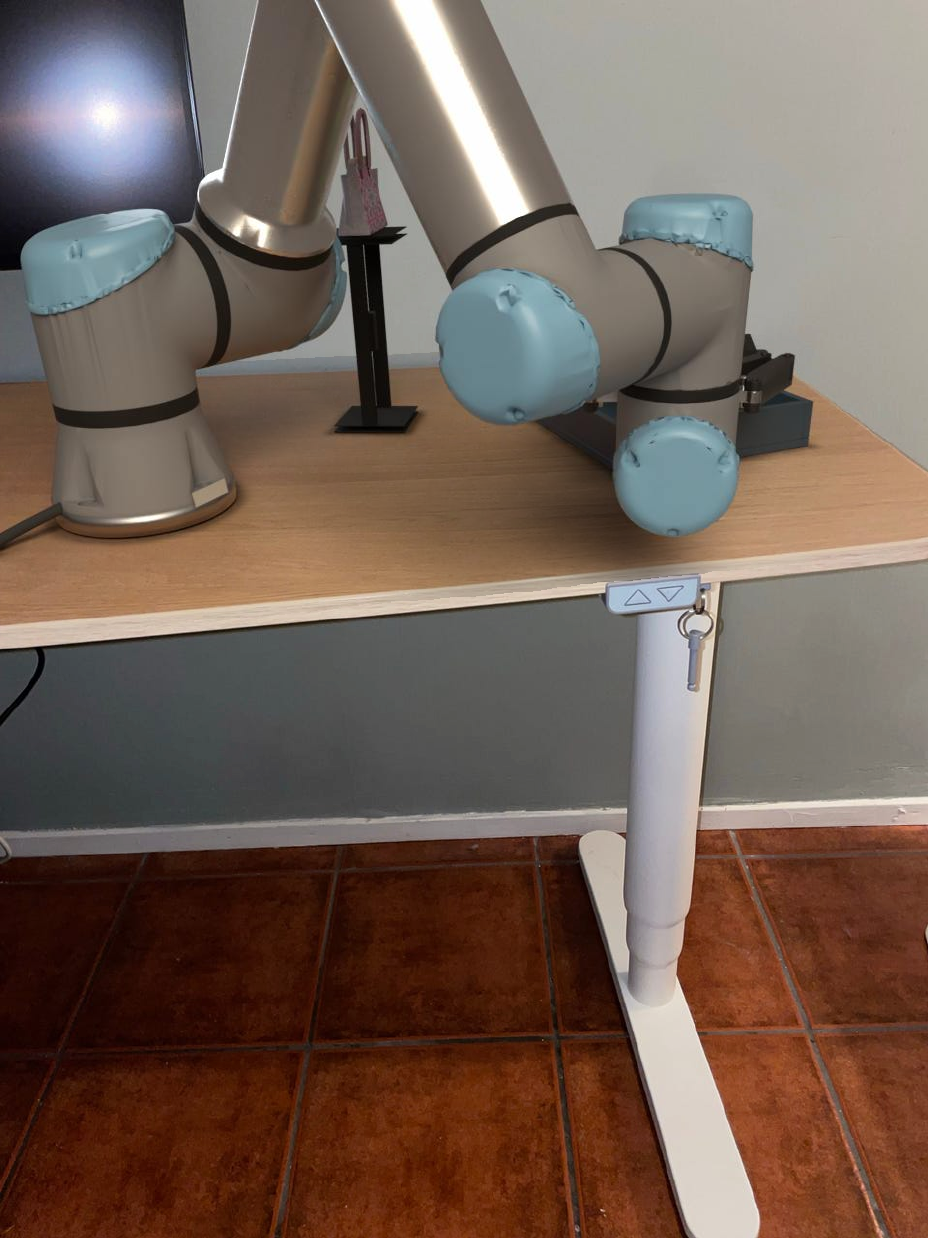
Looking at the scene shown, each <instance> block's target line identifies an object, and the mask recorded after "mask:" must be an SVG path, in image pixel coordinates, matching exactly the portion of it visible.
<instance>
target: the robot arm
mask: <svg viewBox="0 0 928 1238" xmlns="http://www.w3.org/2000/svg"><path fill="white" fill-rule="evenodd" d="M236 97H237V98H236V101H235V106H234V111H233V115H232V121H231V126H230V130H229V135H228V139H227V140H228V141H227V146H226V149H225V155H224V160H223V164H222V168H220V169H217V170H214V171H213V172H210V173H209V174H207V175H205V176H204V177H203V179H202V180H201V181H200V182H199V185H198V189H197V194H196V198H195V203H194V209H193V213H192V218H191V220H190V221H188V222H182V223H175V224H173V223H172V221H171V219H170V217H169V215H168V214H167V213H166V212H165V211H163V210H160V209H156V208H155V209H154V208H137V209H125V210H119V211H114V212H110V213H108V214H107V213H100V214H94V215H90V216H85V217H81V218H77V219H73V220H69V221H66V222H63V223H60V224H57V225H53V226H51V227H48V228H45V229H43V230H41V231H39V232H37V233H36V234H34V235H33V236H32V237H31V238H29V239H28V240H27V241H26V242H25V243H24V245H23V247H22V250H21V251H20V252H21V253H20V265H21V272H22V279H23V287H24V294H25V295H24V296H25V297H24V302H25V307H26V308H27V309H28V312H29V314H30V318H31V322H32V325H33V330H34V335H35V339H36V343H37V347H38V352H39V356H40V360H41V364H42V368H43V372H44V376H45V380H46V384H47V388H48V393H49V396H50V401H51V405H52V408H53V409H52V410H53V414H54V417H55V422H56V427H57V428H56V429H57V436H56V446H55V456H54V466H53V475H52V484H51V491H50V493H51V495H50V502H51V506H49V507H47V508H45V509H43V510H41V511H38V512H37V513H35V514H33V515H31V516H29V517H27V518H26V519H24V520H22V521H20V522H17V523H16V524H14V525H12V526H11V527H8V528H6V529H5V530H3V531H1V532H0V548H1V547H3V546H5V545H7V544H8V543H10V542H12V541H13V540H15V539H18V538H19V537H21V536H23V535H25V534H26V533H28V532H30V531H32V530H34V529H36V528H38V527H40V526H42V525H43V524H45V523H48V522H49V521H52V520H54V519H55V521H56V523H57V525H58V526H59V527H60V528H62V529H64V530H65V531H68V532H70V533H73V534H75V535H79V536H80V535H82V536H86V537H93V538H107V539H108V538H111V539H116V538H117V539H120V538H136V537H145V536H152V535H158V534H159V535H160V534H164V533H168V532H173V531H177V530H181V529H184V528H187V527H191V526H194V525H197V524H200V523H203V522H205V521H207V520H210V519H212V518H214V517H216V516H217V515H219V514H221V513H223V512H224V511H226V510H227V509H228V508H229V507H230V506H232V504H233V503H234V502H235V500H236V498H237V487H236V481H235V475H234V472H233V469H232V467H231V466H230V463H229V461H228V460H227V458H226V456H225V453H224V452H223V449H222V447H221V446H220V444H219V442H218V440H217V439H216V436H215V434H214V432H213V430H212V429H211V427H210V424H209V422H208V421H207V418H206V416H205V414H204V412H203V409H202V405H201V400H200V393H199V386H198V381H197V380H198V379H197V374H196V371H198V370H202V369H207V368H210V367H214V366H219V365H224V364H228V363H233V362H237V361H241V360H246V359H250V358H254V357H255V358H256V357H259V356H264V355H268V354H273V353H280V352H284V351H289V350H293V349H295V348H297V347H299V346H300V345H303V344H305V343H308V342H310V341H313V340H316V339H317V338H319V337H320V336H322V335H323V334H325V333H326V332H327V331H328V330H329V329H330V328H331V327H332V326H333V324H334V323H335V321H336V320H337V318H338V316H339V314H340V312H341V311H342V307H343V305H344V302H345V297H346V293H347V285H348V273H347V271H345V270H343V268H342V265H343V263H344V262H346V257H345V252H344V249H343V245H341V243H340V240H339V239H338V237H337V235H336V232H337V230H336V228H337V224H336V221H335V218H334V217H333V215H332V213H331V212H330V210H329V208H328V207H327V203H328V200H329V195H330V192H331V189H332V186H333V183H334V179H335V176H336V172H337V169H338V165H339V162H340V159H341V155H342V152H343V150H344V147H343V146H344V142H345V139H346V136H347V132H348V133H349V129H350V122H351V119H352V116H353V115H354V112H355V108H356V105H357V101H358V99H359V97H360V99H361V101H362V103H363V105H364V107H365V109H366V111H367V114H368V115H369V117H370V120H371V122H372V124H373V126H374V128H375V131H376V132H377V134H378V136H379V137H378V138H379V139H380V140H381V143H382V145H383V147H384V149H385V151H386V154H387V155H388V158H389V160H390V162H391V164H392V166H393V168H394V170H395V173H396V174H397V176H398V178H399V180H400V183H401V185H402V187H403V189H404V191H405V193H406V195H407V198H408V200H409V202H410V204H411V206H412V208H413V210H414V212H415V213H416V217H417V219H418V221H419V223H420V225H421V227H422V229H423V231H424V233H425V236H426V238H427V239H428V242H429V244H430V246H431V248H432V250H433V252H434V255H435V257H436V259H437V261H438V262H439V264H440V266H441V267H440V268H441V269H442V271H443V273H444V275H445V278H446V280H447V282H448V284H449V286H450V289H451V292H450V294H449V295H448V296H447V297H446V299H445V301H444V302H443V304H442V306H441V308H440V310H439V314H438V317H437V322H436V326H435V335H434V336H435V337H434V338H435V339H434V340H435V342H436V343H437V344H438V351H439V352H438V353H439V360H438V368H439V371H440V374H441V376H442V379H443V381H444V383H445V384H446V388H447V389H448V391H449V392H450V394H451V395H452V397H453V398H454V399H455V400H456V402H457V403H459V405H460V406H461V407H462V408H463V409H464V410H465V411H467V412H468V413H469V414H470V415H471V416H473V417H474V418H477V419H478V420H480V421H482V422H484V423H487V424H490V425H494V426H498V427H499V426H501V427H511V426H512V427H513V426H519V425H523V424H526V423H527V424H528V423H531V422H534V421H535V420H538V419H542V418H545V417H552V416H555V415H558V414H568V413H570V412H572V411H574V410H576V409H578V408H579V407H581V406H582V410H583V411H584V412H587V413H593V412H596V411H597V410H598V407H603V402H616V404H617V426H616V453H615V454H614V457H613V470H612V471H611V474H612V484H613V486H614V490H615V491H614V492H615V495H616V498H617V501H618V503H619V505H620V507H621V509H622V511H623V512H624V514H625V515H626V516H627V517H628V518H629V520H631V521H632V522H633V523H634V524H635V525H637V526H638V527H639V528H641V529H642V530H645V531H647V532H649V533H652V534H655V535H658V536H665V537H671V538H675V537H685V536H690V535H693V534H696V533H700V532H701V531H705V530H706V529H708V528H709V527H711V526H713V525H714V524H715V523H717V522H718V521H719V520H720V519H721V518H722V517H723V516H724V515H725V513H727V511H728V510H729V508H730V507H731V506H732V503H733V501H734V499H735V496H736V493H737V490H738V484H739V470H740V465H741V463H740V462H741V460H740V457H739V455H738V454H737V453H736V432H737V421H738V410H739V408H744V412H747V413H750V414H753V413H758V412H759V411H760V405H761V404H763V403H765V402H766V401H768V400H769V399H771V398H772V397H774V396H775V395H777V394H779V393H780V392H782V391H783V390H785V391H786V390H787V389H788V388H790V387H791V386H792V385H793V379H794V378H793V377H794V369H795V361H796V355H795V354H794V353H791V352H784V353H781V354H779V355H778V356H775V357H774V358H773V357H772V356H773V355H772V353H771V352H769V351H768V350H767V349H763V348H761V349H760V348H759V349H758V348H757V347H756V345H755V342H754V339H753V336H752V334H751V333H746V328H747V320H748V319H747V316H748V309H749V299H750V290H751V289H750V288H751V281H752V280H751V278H752V272H754V269H755V263H754V261H753V225H754V224H753V223H754V213H753V210H752V208H751V206H750V204H749V203H748V202H747V200H746V199H745V200H744V199H743V198H742V197H740V196H736V195H732V194H725V193H724V194H723V193H722V194H721V193H670V194H669V193H668V194H656V195H646V196H641V197H638V198H636V199H634V200H633V201H632V202H631V203H629V205H628V206H627V207H626V209H625V210H624V212H623V221H622V229H621V234H620V236H619V237H618V244H617V245H613V246H607V247H604V248H599V249H596V246H595V244H594V242H593V240H592V238H591V236H590V233H589V232H588V229H587V227H586V225H585V223H584V220H583V219H582V218H581V215H580V213H579V212H578V209H577V207H576V205H575V203H574V200H573V198H572V197H571V194H570V192H569V190H568V187H567V185H566V183H565V181H564V179H563V177H562V174H561V172H560V170H559V168H558V165H557V164H556V163H557V162H556V161H555V159H554V157H553V155H552V153H551V150H550V147H549V146H548V144H547V141H546V139H545V137H544V135H543V133H542V131H541V128H540V126H539V124H538V122H537V119H536V118H535V115H534V113H533V111H532V109H531V107H530V105H529V104H530V103H528V101H527V100H528V99H527V98H526V96H525V94H524V92H523V89H522V87H521V85H520V83H519V81H518V79H517V76H516V74H515V72H514V70H513V68H512V65H511V63H510V61H509V59H508V57H507V54H506V52H505V50H504V48H503V46H502V44H501V41H500V39H499V37H498V34H497V32H496V30H495V28H494V27H493V24H492V22H491V20H490V17H489V15H488V13H487V11H486V9H485V7H484V4H483V3H482V0H257V1H256V5H255V10H254V15H253V20H252V24H251V29H250V34H249V39H248V44H247V49H246V54H245V59H244V64H243V68H242V73H241V78H240V83H239V86H238V92H237V96H236Z"/></svg>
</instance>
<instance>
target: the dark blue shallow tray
mask: <svg viewBox="0 0 928 1238" xmlns="http://www.w3.org/2000/svg"><path fill="white" fill-rule="evenodd" d="M813 407H814V401H813V400H811V399H808V398H806V397H803V396H800V395H797V394H795V393H793V392H790V391H788V390H786V389H785V390H783V391H782V392H780V393H779V394H777V395H775V396H774V397H772V398H771V399H769V400H768V401H766V402H765V403H763V404H761V405H760V411H759V412H758V413H753V414H750V413H747V412H744V408H739V410H738V421H737V432H736V453H737V454H738V455H739V458H744V457H745V458H746V457H750V456H755V455H763V454H768V453H773V452H779V451H780V452H781V451H785V450H792V449H797V448H804V447H808V446H809V442H810V433H811V425H812V415H813ZM534 421H535V422H536V423H538V424H539V425H541V426H542V427H544V428H546V429H547V430H549V431H550V432H552V433H553V434H555V435H557V436H558V437H560V438H562V439H563V440H565V441H566V442H568V443H569V444H571V445H573V446H574V447H575V448H577V449H578V450H580V451H582V452H583V453H585V454H586V455H588V456H590V457H591V458H593V459H595V460H596V461H598V463H601V464H602V465H604V466H605V467H607V468H609V469H610V470H612V471H613V457H614V454H615V453H616V426H617V404H616V402H603V407H598V410H597V411H596V412H593V413H587V412H584V411H583V410H582V406H581V407H579V408H578V409H576V410H574V411H572V412H570V413H568V414H558V415H555V416H552V417H545V418H542V419H538V420H534Z"/></svg>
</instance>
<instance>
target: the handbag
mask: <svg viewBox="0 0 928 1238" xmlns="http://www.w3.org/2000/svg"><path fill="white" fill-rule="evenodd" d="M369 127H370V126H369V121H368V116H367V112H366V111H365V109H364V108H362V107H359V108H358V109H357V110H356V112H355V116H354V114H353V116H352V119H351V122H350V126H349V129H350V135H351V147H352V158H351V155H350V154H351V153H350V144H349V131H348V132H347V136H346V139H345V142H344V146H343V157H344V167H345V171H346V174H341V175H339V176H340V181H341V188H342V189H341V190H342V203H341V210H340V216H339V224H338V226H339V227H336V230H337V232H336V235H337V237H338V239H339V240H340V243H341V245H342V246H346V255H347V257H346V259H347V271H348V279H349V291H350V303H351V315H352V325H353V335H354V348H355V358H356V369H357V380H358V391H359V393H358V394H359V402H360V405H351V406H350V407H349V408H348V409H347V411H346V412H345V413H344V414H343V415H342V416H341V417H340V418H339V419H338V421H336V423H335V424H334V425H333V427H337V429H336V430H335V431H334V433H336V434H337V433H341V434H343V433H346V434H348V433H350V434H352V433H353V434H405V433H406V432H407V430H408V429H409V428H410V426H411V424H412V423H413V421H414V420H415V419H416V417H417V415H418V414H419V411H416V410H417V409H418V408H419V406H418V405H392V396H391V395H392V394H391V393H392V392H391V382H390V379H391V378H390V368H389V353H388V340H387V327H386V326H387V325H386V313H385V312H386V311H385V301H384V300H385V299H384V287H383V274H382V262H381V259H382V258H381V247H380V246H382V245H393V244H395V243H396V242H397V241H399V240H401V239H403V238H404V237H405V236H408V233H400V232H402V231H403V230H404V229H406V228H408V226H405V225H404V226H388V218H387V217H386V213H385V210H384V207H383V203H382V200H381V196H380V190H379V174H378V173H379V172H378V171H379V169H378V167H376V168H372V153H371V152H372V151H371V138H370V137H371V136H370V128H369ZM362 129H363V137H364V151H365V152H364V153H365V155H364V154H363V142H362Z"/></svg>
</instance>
